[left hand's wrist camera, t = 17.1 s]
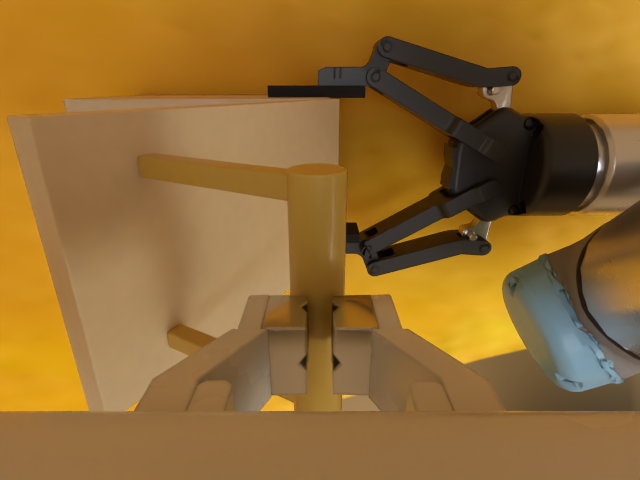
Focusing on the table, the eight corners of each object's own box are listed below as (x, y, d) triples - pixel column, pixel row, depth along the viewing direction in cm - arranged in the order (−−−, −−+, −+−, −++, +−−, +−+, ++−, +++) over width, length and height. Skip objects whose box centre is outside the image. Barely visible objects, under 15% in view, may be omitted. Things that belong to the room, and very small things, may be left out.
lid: (88, 412, 14) (282, 536, 10) (5, 115, 10) (258, 132, 6) (323, 250, 27) (443, 276, 23) (323, 98, 23) (465, 100, 20)
